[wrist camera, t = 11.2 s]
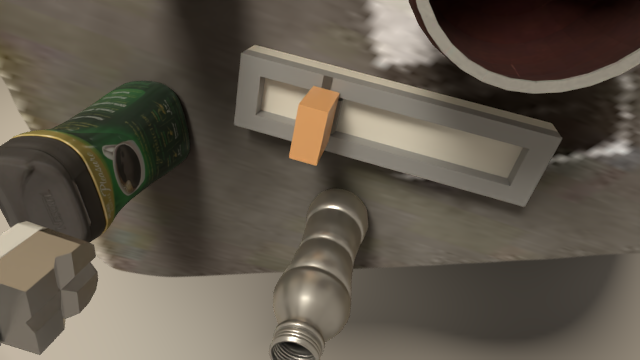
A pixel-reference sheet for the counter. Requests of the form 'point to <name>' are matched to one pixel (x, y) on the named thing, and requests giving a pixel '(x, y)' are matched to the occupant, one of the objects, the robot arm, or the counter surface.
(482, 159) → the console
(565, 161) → the counter surface
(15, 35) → the counter surface
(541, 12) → the mate gourd
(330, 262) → the silver ridged bottle
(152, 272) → the counter surface
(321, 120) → the fader knob
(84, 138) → the coffee jar
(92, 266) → the robot arm
